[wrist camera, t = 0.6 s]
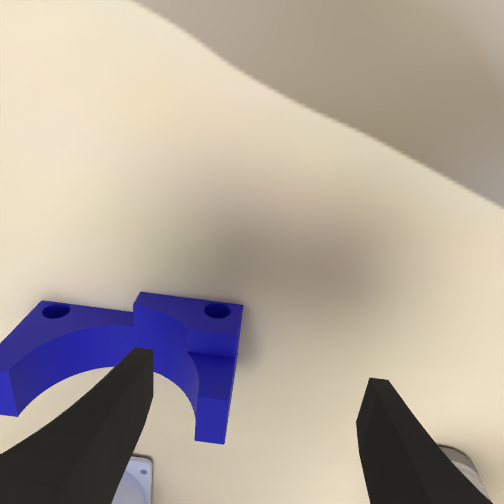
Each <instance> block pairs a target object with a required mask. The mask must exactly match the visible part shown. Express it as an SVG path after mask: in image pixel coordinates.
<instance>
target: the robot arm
mask: <svg viewBox="0 0 504 504" xmlns="http://www.w3.org/2000/svg"><path fill="white" fill-rule="evenodd" d="M152 398H153V349H146V348H138V347H135V348H134V349H132V350H131V351H130V352H129V353H128V354H127V355H126V356H125V357H124V358H123V359H122V360H121V361H120V362H119V363H118V364H117V365H116V366H115V367H114V368H113V369H112V370H111V371H110V372H109V373H108V374H107V375H106V376H105V377H104V378H103V379H102V380H101V381H100V382H98V383H97V384H96V385H95V386H94V387H93V388H92V389H91V390H90V391H89V392H87V393H86V394H85V395H84V396H83V397H81V398H80V399H79V400H78V401H77V402H76V403H74V404H73V405H72V406H71V407H70V408H68V409H67V410H66V411H64V412H63V413H62V414H61V415H59V416H58V417H57V418H55V419H54V420H53V421H51V422H50V423H48V424H47V425H46V426H44V427H43V428H41V429H40V430H38V431H37V432H35V433H34V434H32V435H31V436H29V437H28V438H26V439H25V440H23V441H22V442H20V443H18V444H17V445H15V446H14V447H12V448H10V449H9V450H7V451H5V452H4V453H2V454H0V504H151V489H152V462H151V461H150V460H149V459H146V458H140V457H133V456H132V453H133V451H134V449H135V446H136V444H137V442H138V439H139V437H140V435H141V432H142V430H143V427H144V425H145V422H146V419H147V415H148V412H149V409H150V405H151V402H152ZM356 426H357V437H358V447H359V454H360V459H361V464H362V468H363V473H364V477H365V482H366V486H367V491H368V495H369V499H370V504H493V503H492V502H491V501H490V500H489V499H488V498H487V497H486V496H485V495H484V494H482V493H481V492H480V491H479V490H478V489H477V488H476V487H475V486H474V485H473V484H472V482H471V481H470V480H469V479H468V478H467V477H466V476H465V475H464V474H463V473H462V472H461V471H460V470H459V469H458V468H457V467H456V466H455V465H454V464H453V463H452V461H451V460H450V459H449V458H448V457H447V456H446V455H445V453H444V452H443V451H442V450H441V449H440V448H439V446H438V445H437V444H436V443H435V442H434V440H433V439H432V438H431V437H430V435H429V434H428V433H427V432H426V430H425V429H424V428H423V426H422V425H421V424H420V423H419V421H418V420H417V419H416V417H415V416H414V415H413V413H412V412H411V411H410V409H409V408H408V407H407V405H406V404H405V402H404V401H403V400H402V398H401V397H400V395H399V394H398V393H397V391H396V390H395V389H394V387H393V386H392V385H391V383H390V382H389V380H384V379H377V378H369V381H368V385H367V388H366V391H365V395H364V398H363V401H362V404H361V408H360V411H359V414H358V418H357V421H356Z"/></svg>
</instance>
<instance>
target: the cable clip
mask: <svg viewBox="0 0 504 504" xmlns="http://www.w3.org/2000/svg"><path fill="white" fill-rule="evenodd" d="M242 311H243V305H238V304H231V303H223V302H215V301H207V300H200V299H192V298H184V297H176V296H169V295H161V294H153V293H145V292H140V294H139V296H138V297H137V299H136V301H135V302H134V304H133V312H127V311H120V310H112V309H104V308H96V307H89V306H81V305H73V304H66V303H58V302H50V301H41V302H40V303H39V304H38V305H37V306H36V307H35V308H34V309H33V310H32V311H31V312H30V313H29V314H28V315H27V316H26V317H25V318H24V319H23V320H22V321H21V323H20V324H19V325H18V326H17V327H16V328H15V329H14V330H13V331H12V332H11V333H10V334H9V335H8V336H7V337H6V338H5V339H4V340H3V341H2V342H1V343H0V415H7V416H15V417H18V416H19V415H20V413H21V412H22V411H23V410H24V408H25V407H26V406H27V405H28V404H29V403H30V402H31V401H32V400H34V399H35V398H36V397H37V396H38V395H40V394H41V393H42V392H44V391H45V390H46V389H48V388H50V387H51V386H53V385H54V384H56V383H58V382H60V381H62V380H64V379H66V378H68V377H71V376H73V375H76V374H78V373H82V372H85V371H88V370H93V369H97V368H103V367H113V366H116V365H117V364H118V363H119V362H120V361H121V360H122V359H123V358H124V357H125V356H126V355H127V354H128V353H129V352H130V351H131V350H132V349H134V348H135V347H138V348H146V349H153V372H156V373H158V374H161V375H163V376H164V377H166V378H168V379H170V380H171V381H173V382H174V383H175V384H176V385H177V386H179V387H180V388H181V389H182V391H183V392H184V393H185V394H186V396H187V397H188V399H189V401H190V402H191V405H192V407H193V410H194V414H195V419H196V426H195V441H201V442H209V443H216V444H224V443H225V436H226V430H227V423H228V416H229V410H230V403H231V396H232V390H233V383H234V376H235V370H236V363H237V354H238V345H239V337H240V328H241V320H242Z"/></svg>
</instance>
